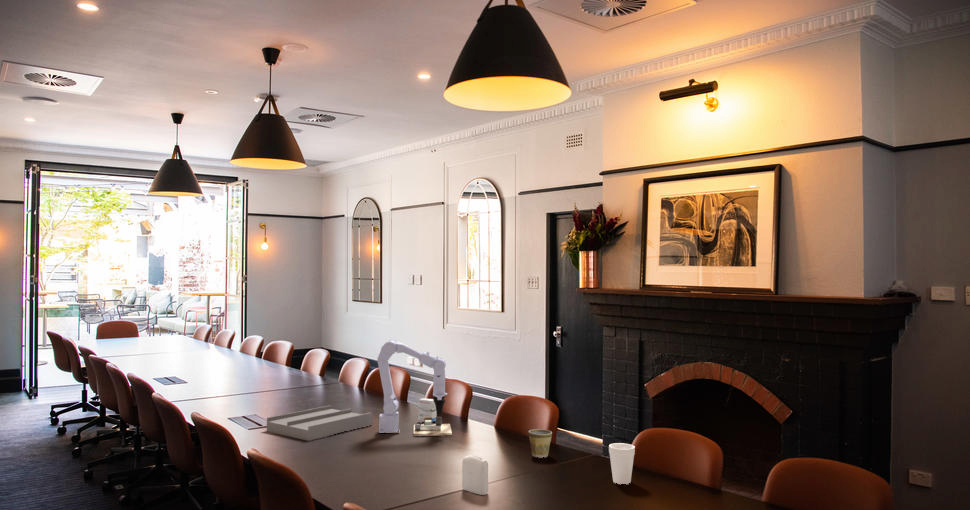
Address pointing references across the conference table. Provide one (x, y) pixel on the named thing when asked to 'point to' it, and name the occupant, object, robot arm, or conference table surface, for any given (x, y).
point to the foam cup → (621, 462)
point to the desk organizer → (317, 422)
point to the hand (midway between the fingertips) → (438, 412)
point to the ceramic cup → (540, 442)
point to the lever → (430, 427)
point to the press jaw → (427, 422)
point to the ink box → (427, 409)
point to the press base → (444, 430)
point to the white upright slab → (475, 474)
